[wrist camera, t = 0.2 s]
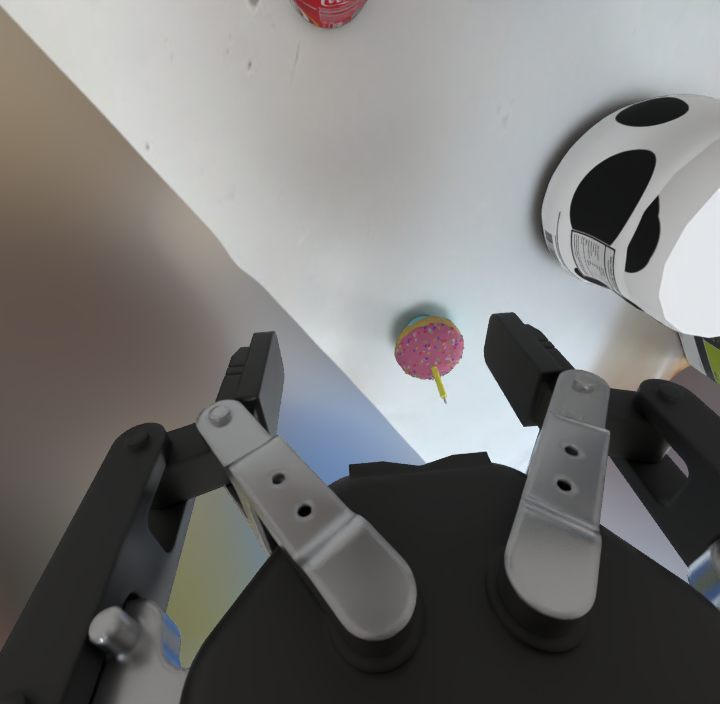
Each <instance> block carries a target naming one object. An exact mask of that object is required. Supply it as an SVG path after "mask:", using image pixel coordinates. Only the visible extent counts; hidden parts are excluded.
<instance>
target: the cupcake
mask: <svg viewBox="0 0 720 704" xmlns="http://www.w3.org/2000/svg"><path fill="white" fill-rule="evenodd" d="M462 337H463V336H462V335H461V333H460V331H459V330H458V328H457V327H456V326H455V325H454V324H453V323H452V322H451V321H450V320H448V319H445V318H440V317H436V316H419V317H416V318H414V319H413V320H411V321H410V322H409V323H408V325H407V326H406V327H405V328H404V329H403V330H402V332H401V333H400V335H399V337H398V339H397V343H396V347H395V357H396V361H397V362H398V364H399V365H400V366H401V367H402V369H403V370H404V371H405V373H406V374H409V375H411V376H412V377H416V378H420V379H422V378H423V379H424V380H425V379H429V380H430V379H432V380H434V379H435V381H436V384H437V387H438V390H439V393H440V396H441V398H443V399H444V402H445V404H447V402H446V399H445V398H446V397H447V395H446V392H445V390H444V387H443V384H442V381H441V378H440V377H441V376H444V375H445V374H447V373H449V371H451V370H452V369H453V367H454V366H455V365H456V364H458V363H459V362H458V361H459V360H460V358H462V356H461V355H462V353H463V349H464V348H463V346H464V341H463V338H462Z"/></svg>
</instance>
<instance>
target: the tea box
mask: <svg viewBox="0 0 720 704" xmlns="http://www.w3.org/2000/svg"><path fill="white" fill-rule="evenodd" d="M678 333H679V336H680V339H681V342H682V345H683V349H684V352H685V355H686V358H687V361H688V363H689V364H690V365H692V366H693V367H695V368H696V369H697V370H699V371H700V372H702V373H703V374H705V375H706V376H708V377H710V378H711V379H712V380H713V381H715V382H716V383H718V384H719V385H720V336H718V337H711V338H707V337H701V336H695V335H689V334H684V333H681V332H678Z"/></svg>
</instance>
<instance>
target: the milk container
mask: <svg viewBox="0 0 720 704" xmlns="http://www.w3.org/2000/svg"><path fill="white" fill-rule="evenodd" d="M541 227H542V234H543V238H544V241H545V243H546V246H547V248H548V250H549V251H550V253H551V254H552V256H553V257H554V258H555V260H556V261H557V262H558V263H559V264H560V265H561V267H562V268H564V269H565V270H566V271H567V272H568V273H570V274H571V275H573V276H574V277H576V278H578V279H580V280H582V281H584V282H586V283H589V284H592V285H595V286H599V287H604V288H608V289H611V290H612V291H614V292H615V293H617V294H618V295H619V296H620V297H622V298H623V299H624V300H626V301H627V302H628V303H630V304H631V305H633V306H634V307H636V308H637V309H639V310H641V311H644V312H646V313H647V314H649V315H650V316H651V317H652V318H654V319H655V320H657V321H658V322H659V323H661V324H663V325H665V326H667V327H669V328H671V329H673V330H675V331H678V332H681V333H684V334H689V335H695V336H701V337H707V338H711V337H718V336H720V100H717V99H714V98H711V97H707V96H701V95H693V94H677V95H667V96H661V97H656V98H651V99H647V100H644V101H641V102H637V103H634V104H631V105H629V106H626V107H624V108H621V109H619V110H617V111H615V112H614V113H612V114H610V115H608V116H607V117H605V118H604V119H602V120H601V121H599V122H598V123H597V124H595V125H594V126H593V127H592V128H590V129H589V130H588V131H587V132H586V133H585V134H584V135H583V136H582V137H581V138H580V139H579V140H578V141H577V142H576V143H575V144H574V145H573V146H572V147H571V148H570V149H569V150H568V152H567V153H566V155H565V156H564V157H563V159H562V161H561V162H560V164H559V165H558V167H557V168H556V170H555V172H554V173H553V175H552V177H551V179H550V182H549V184H548V187H547V191H546V194H545V197H544V200H543V205H542V214H541Z"/></svg>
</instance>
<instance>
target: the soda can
mask: <svg viewBox="0 0 720 704" xmlns="http://www.w3.org/2000/svg"><path fill="white" fill-rule="evenodd" d="M290 1H291V3H292V5H293V6H294V7H295V9H296V10H297V11H298V12H299V13H300V14H301V15H302V16H303V17H304V18H305V19H306V20H308V21H309V22H310V23H312V24H314V25H316V26H319V27H322V28H337V27H340V26H343V25H344V24H346V23H348V22H350V21H351V20H352V19H353V18H354V17H356V16H357V14H358V13H359V12H360V11H361V9H362V8H363V6H364V4H365V3H366V1H367V0H290Z"/></svg>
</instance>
